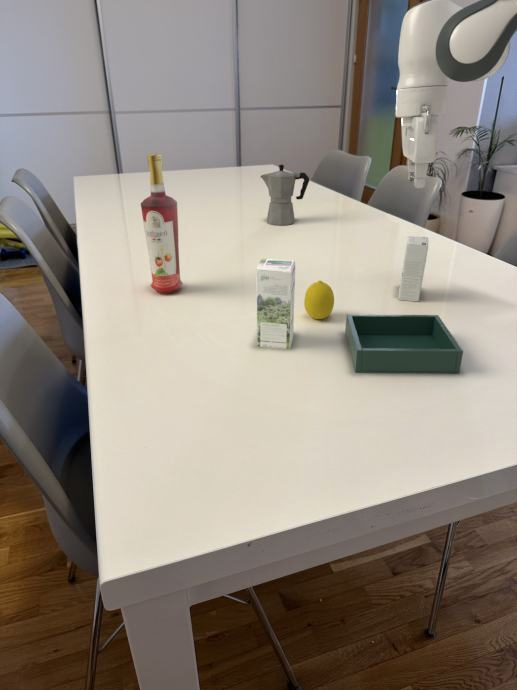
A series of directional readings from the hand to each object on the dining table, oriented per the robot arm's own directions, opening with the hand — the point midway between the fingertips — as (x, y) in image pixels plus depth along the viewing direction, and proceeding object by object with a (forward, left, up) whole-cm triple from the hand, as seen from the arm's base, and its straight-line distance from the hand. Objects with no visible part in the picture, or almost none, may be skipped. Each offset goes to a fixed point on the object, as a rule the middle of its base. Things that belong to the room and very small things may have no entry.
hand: (416, 184), depth 99 cm
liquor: (+51, -2, -23) cm, 56 cm away
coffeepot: (+25, -65, -23) cm, 73 cm away
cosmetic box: (-1, +1, -23) cm, 23 cm away
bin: (+7, +28, -23) cm, 37 cm away
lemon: (+19, +14, -23) cm, 33 cm away
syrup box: (+27, +24, -23) cm, 43 cm away
